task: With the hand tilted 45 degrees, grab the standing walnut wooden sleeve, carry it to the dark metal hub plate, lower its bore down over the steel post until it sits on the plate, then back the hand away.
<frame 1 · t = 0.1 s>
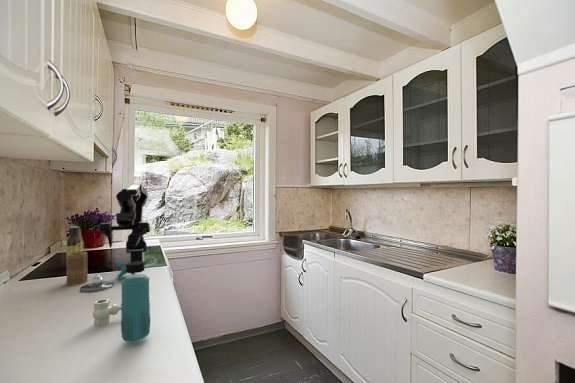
hand: (123, 246, 116), 15 cm above the countertop, tool tilted 35°, fingers open, 9 cm apart
beverage bottle: (135, 341, 71), on the countertop
valve: (117, 320, 83), on the countertop
sauce bottle: (74, 266, 140), on the countertop
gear: (126, 278, 122), on the countertop
hub: (97, 287, 110), on the countertop
sleeve: (77, 282, 115), on the countertop
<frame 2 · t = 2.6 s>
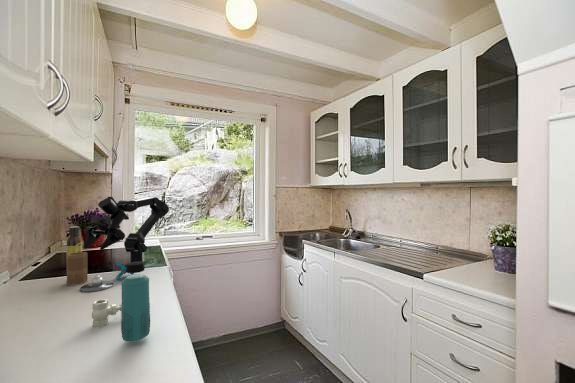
hand: (92, 248, 122), 13 cm above the countertop, tool tilted 45°, fingers open, 9 cm apart
nothing on the countertop moved.
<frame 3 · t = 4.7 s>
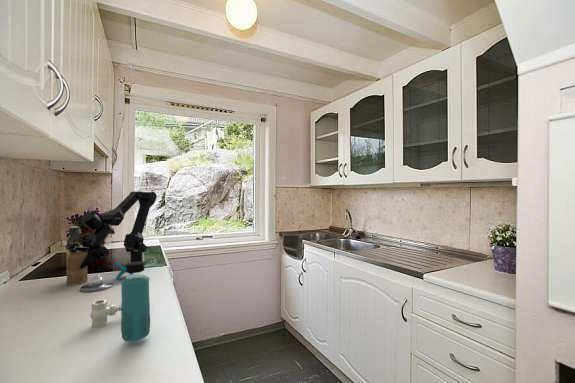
hand: (73, 267, 114), 7 cm above the countertop, tool tilted 45°, fingers closed on sleeve, 7 cm apart
sleeve: (77, 282, 115), on the countertop, touching gripper
everything else where it was.
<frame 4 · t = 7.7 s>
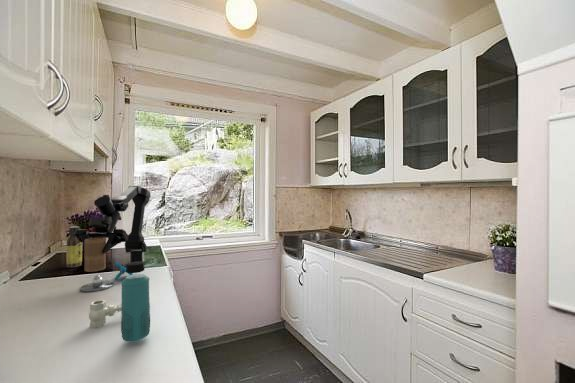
hand: (93, 253, 109), 14 cm above the countertop, tool tilted 45°, fingers closed on sleeve, 7 cm apart
sleeve: (95, 269, 110), point 7 cm above the countertop, touching gripper
everything else where it was.
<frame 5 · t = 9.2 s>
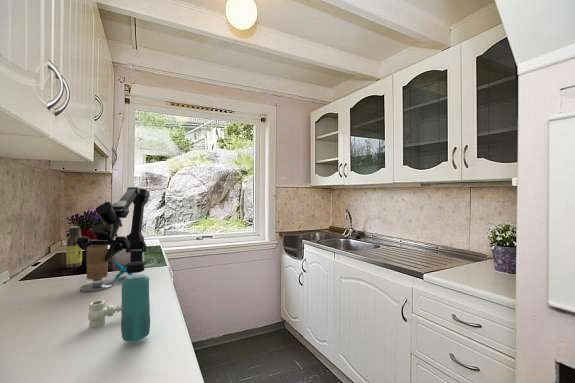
hand: (95, 261, 109), 11 cm above the countertop, tool tilted 45°, fingers closed on sleeve, 7 cm apart
sleeve: (97, 276, 110), point 4 cm above the countertop, touching gripper
when the fingers open (8 cm above the countertop, at t = 10.5 s): sleeve stays where it is, resting on hub.
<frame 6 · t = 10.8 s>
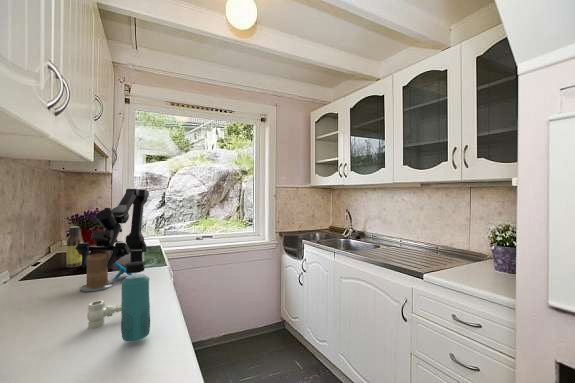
hand: (95, 267, 109), 8 cm above the countertop, tool tilted 45°, fingers open, 9 cm apart
sleeve: (97, 285, 110), point 1 cm above the countertop, touching hub
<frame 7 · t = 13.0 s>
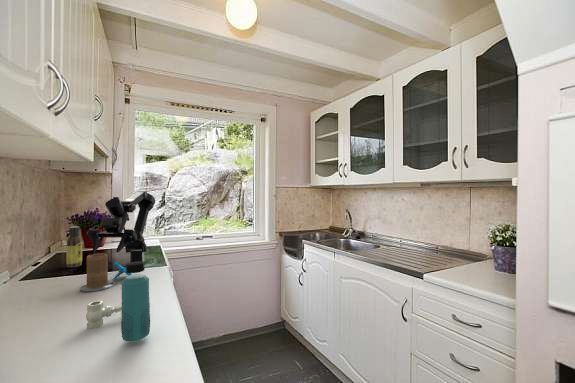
hand: (105, 252, 116), 13 cm above the countertop, tool tilted 45°, fingers open, 9 cm apart
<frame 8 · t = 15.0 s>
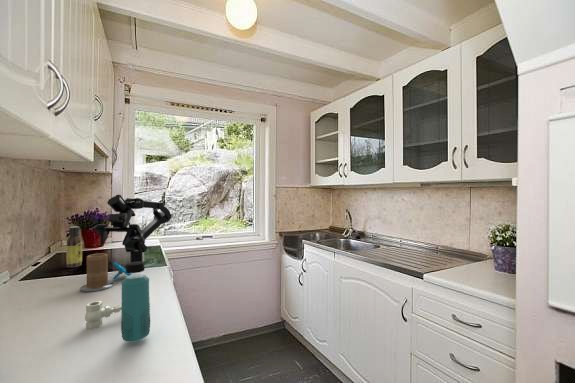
hand: (112, 244, 126), 14 cm above the countertop, tool tilted 45°, fingers open, 9 cm apart
at the end: sleeve 0.1 cm from the hub (horizontally); sleeve point 0.6 cm above the countertop; sleeve tilted 0° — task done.
